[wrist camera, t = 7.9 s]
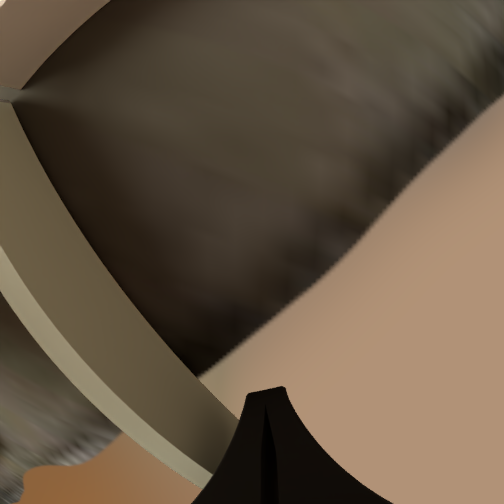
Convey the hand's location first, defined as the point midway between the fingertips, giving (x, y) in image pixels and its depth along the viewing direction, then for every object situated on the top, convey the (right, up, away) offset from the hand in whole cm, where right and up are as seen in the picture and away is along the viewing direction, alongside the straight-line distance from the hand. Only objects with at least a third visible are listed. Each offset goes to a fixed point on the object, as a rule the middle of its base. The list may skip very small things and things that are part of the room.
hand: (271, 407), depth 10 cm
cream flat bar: (-6, +5, 0) cm, 7 cm away
